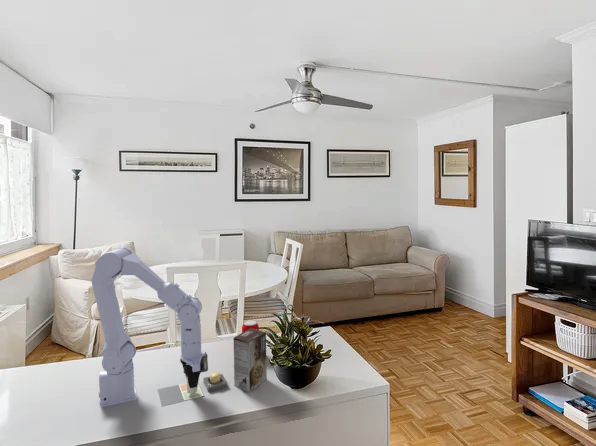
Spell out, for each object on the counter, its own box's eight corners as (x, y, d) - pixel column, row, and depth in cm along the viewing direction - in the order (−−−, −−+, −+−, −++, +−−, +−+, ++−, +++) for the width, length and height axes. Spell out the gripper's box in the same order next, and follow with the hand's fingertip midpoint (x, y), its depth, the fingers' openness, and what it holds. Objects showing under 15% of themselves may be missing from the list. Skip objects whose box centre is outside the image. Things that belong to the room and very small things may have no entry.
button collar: (208, 393, 117) (207, 387, 116) (203, 383, 122) (203, 377, 122) (227, 388, 119) (227, 382, 119) (222, 379, 125) (222, 373, 124)
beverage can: (238, 354, 143) (238, 323, 142) (251, 348, 148) (250, 318, 146) (250, 359, 139) (249, 327, 138) (262, 353, 144) (262, 322, 143)
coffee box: (251, 374, 128) (250, 327, 126) (267, 379, 125) (267, 331, 123) (233, 387, 120) (232, 337, 119) (249, 392, 117) (249, 341, 115)
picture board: (161, 408, 109) (161, 406, 109) (157, 390, 118) (157, 389, 118) (204, 397, 114) (204, 395, 114) (197, 382, 123) (197, 380, 123)
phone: (206, 351, 144) (207, 370, 129) (206, 354, 144) (207, 373, 129) (184, 353, 142) (183, 373, 127) (184, 356, 142) (183, 376, 127)
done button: (211, 386, 118) (211, 378, 118) (208, 381, 121) (208, 373, 121) (221, 383, 120) (221, 376, 119) (219, 379, 123) (218, 371, 122)
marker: (187, 394, 113) (187, 368, 112) (185, 389, 116) (185, 363, 115) (198, 392, 114) (198, 365, 113) (196, 387, 117) (195, 361, 116)
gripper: (210, 347, 109) (211, 393, 110) (199, 329, 122) (200, 370, 123) (184, 351, 105) (186, 399, 107) (176, 333, 118) (177, 375, 120)
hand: (192, 384), depth 115 cm, fingers closed on marker, 3 cm apart
